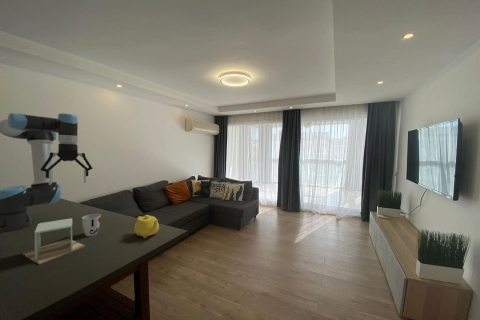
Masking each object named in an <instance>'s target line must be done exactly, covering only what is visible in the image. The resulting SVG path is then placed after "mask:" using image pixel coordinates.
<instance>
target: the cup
mask: <svg viewBox="0 0 480 320" xmlns="http://www.w3.org/2000/svg"><path fill="white" fill-rule="evenodd" d="M81 222H82V229H83V233H84V235H85V237H92V236H95V235H97V234H98V232H99V229H100V225H101V214H100V213H91V214H86V215H84V216H82V217H81Z"/></svg>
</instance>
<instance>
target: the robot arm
mask: <svg viewBox="0 0 480 320" xmlns="http://www.w3.org/2000/svg"><path fill="white" fill-rule="evenodd" d="M78 123H79V121H78V117H77V115H76V114H71V113H64V112H63V113H62V112H61V113H59V114H58V115H57V118H54V117H47V116H38V115H30V114H24V113H23V114H22V113H16V112H15V113H14V112H11V113H8V117H7V119H3V120H1V121H0V134H2V135H3V136H6V137H9V138H13V139H19V140H26V141H27V144H29V145H30V146H31V159H32V160H31V161H32V172H33V182H32V183H31V184H30V187H28V186H27V185H16V186H10V187H5V188H1V189H0V233H3V232H4V233H5V232H11V231H16V230H19V229H23V228H26V227H30V226H31V225H32V224H33V222H32V221H33V219H32V218H31V216H30V214H29V212H28V208H29V207H35V206H41V205H49V204H54V203H57V202H58V201H60V198H61V196H62V186H61V185H60V184H57V183H58V182H57V181H56V180H54V173H53V168H54V167H56V166H57V165H58V164H60V162H61V161H63V162H74V161H75V163H77V164H78V165H79V166H81V167H82V168H83V169H84V170H83V183H84V184H85V183H87V181H86V180H87V177H89V171H90V170H92V169H93V167H92V165H91V163H90V162H89V160H88V159H87V157H86V154H85V152H82V153H79V151H78V149H79V148H78V147H79V146H78V141H79V140H78ZM57 134H58V136H57ZM57 137H58V138H57ZM56 139H58V141H57V142H58V148H57V150H58V152H52V151H51V145H52V144H53V143H54V142H53V141H55V140H56ZM56 156H57V157H58V159H57V160H56V161H55V162H54V163H52V159H54V158H55V157H56ZM79 156H80V157H81V158H82V159H83V160H84V162H85V164H86V165H85V164H83V163H82V162H81V161H80V160H79V159H78V157H79Z"/></svg>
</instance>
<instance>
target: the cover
mask: <svg viewBox="0 0 480 320" xmlns="http://www.w3.org/2000/svg"><path fill="white" fill-rule="evenodd" d="M69 228H70V239H71V251H72V240H73V218H72V217H71V218H66V219H64V218H63V219H60V220H59V219H57V220H53V221H46V222H40V223H39V222H38V224H37V226H36V228H35V230H34V249H35V259H37V258H38V254H39V251H40V248H41V247H42V246H41V240H42V239H41V233H42V234H43V233H48V232H53V231H54V232H55V231H59V230H63V229H69Z"/></svg>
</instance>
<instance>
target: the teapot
mask: <svg viewBox="0 0 480 320" xmlns="http://www.w3.org/2000/svg"><path fill="white" fill-rule="evenodd" d="M158 221H159V219H157V217H155V216H153V215H149V214H146V215H144V216H140V215H139V216H137V218H136V222H135V223H134V229H133V231H134V233H135V234H136V235H137V236H138V237H139V236H140V237H142V238H143V239H147V238H148V237H150V236H152V235H153V236H154V235H156V234H157V233H158V232H159V229H160V226H159V222H158Z"/></svg>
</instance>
